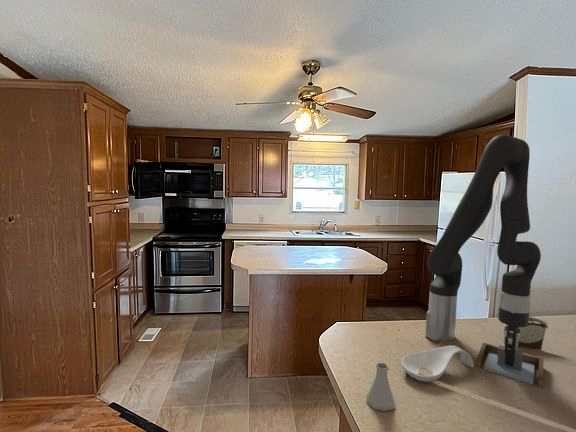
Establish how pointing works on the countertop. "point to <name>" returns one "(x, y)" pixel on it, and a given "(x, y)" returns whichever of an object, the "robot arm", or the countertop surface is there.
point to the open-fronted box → (526, 358)
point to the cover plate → (509, 371)
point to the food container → (533, 334)
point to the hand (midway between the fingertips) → (509, 362)
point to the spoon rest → (433, 362)
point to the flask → (381, 390)
